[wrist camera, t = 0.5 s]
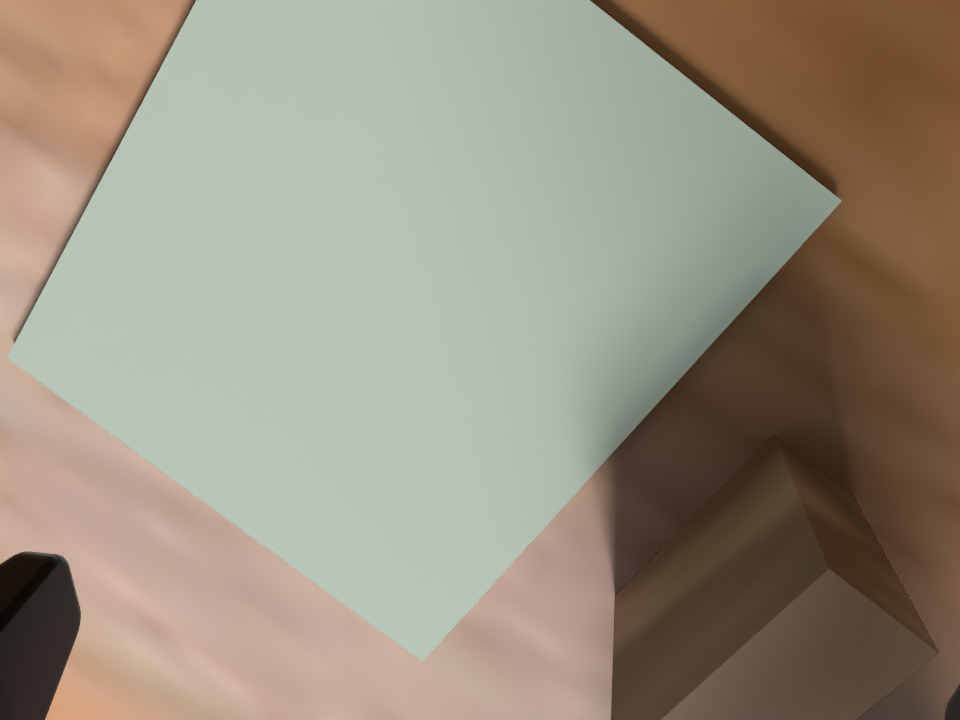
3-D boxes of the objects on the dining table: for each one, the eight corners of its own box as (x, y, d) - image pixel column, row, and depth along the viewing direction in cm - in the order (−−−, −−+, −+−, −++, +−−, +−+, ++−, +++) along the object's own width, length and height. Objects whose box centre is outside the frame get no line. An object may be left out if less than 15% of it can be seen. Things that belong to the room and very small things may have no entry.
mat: (837, 198, 18) (842, 200, 18) (425, 652, 24) (422, 661, 23) (319, -214, 18) (312, -221, 17) (17, 353, 23) (7, 358, 23)
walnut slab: (853, 496, 20) (938, 652, 15) (688, 649, 22) (708, 838, 17) (774, 435, 20) (829, 568, 15) (614, 594, 22) (610, 765, 17)
